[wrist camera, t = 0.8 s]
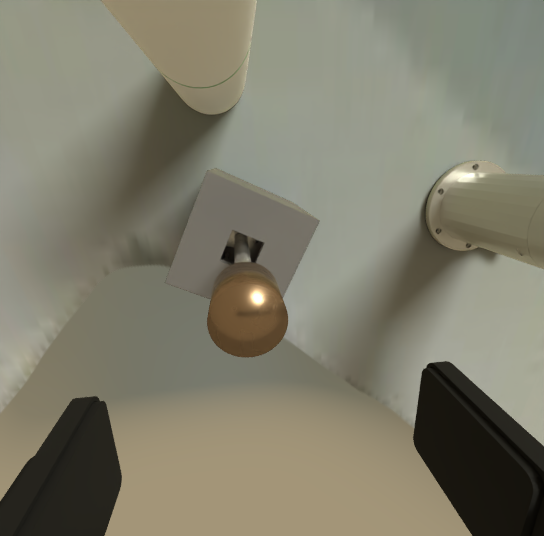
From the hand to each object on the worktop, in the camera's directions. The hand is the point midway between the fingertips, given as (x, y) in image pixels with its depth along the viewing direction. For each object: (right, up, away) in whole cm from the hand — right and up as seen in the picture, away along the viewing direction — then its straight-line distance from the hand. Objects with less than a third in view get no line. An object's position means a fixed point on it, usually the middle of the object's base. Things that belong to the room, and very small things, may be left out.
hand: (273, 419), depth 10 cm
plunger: (-3, +8, +26) cm, 27 cm away
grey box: (-4, +10, +35) cm, 37 cm away
